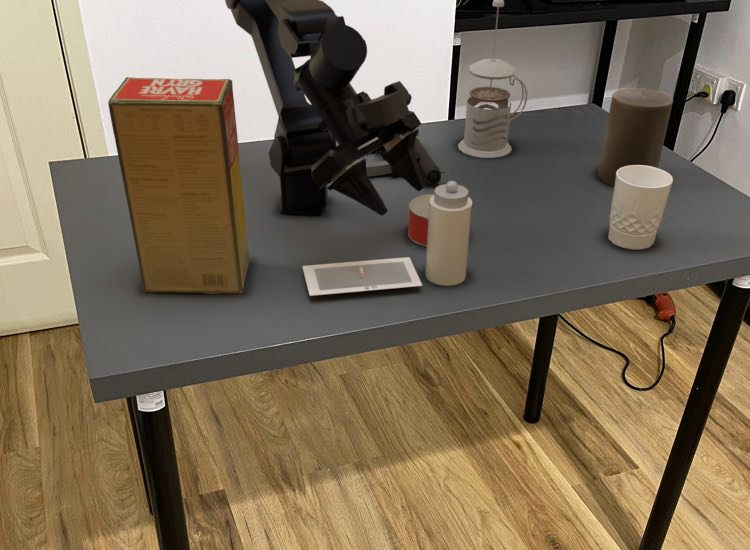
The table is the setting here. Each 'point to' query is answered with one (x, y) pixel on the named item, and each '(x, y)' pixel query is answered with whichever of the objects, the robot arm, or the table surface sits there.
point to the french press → (484, 137)
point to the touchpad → (360, 276)
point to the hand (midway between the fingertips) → (403, 201)
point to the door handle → (424, 162)
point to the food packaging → (182, 183)
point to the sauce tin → (419, 219)
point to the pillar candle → (634, 130)
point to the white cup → (638, 205)
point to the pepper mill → (448, 234)
